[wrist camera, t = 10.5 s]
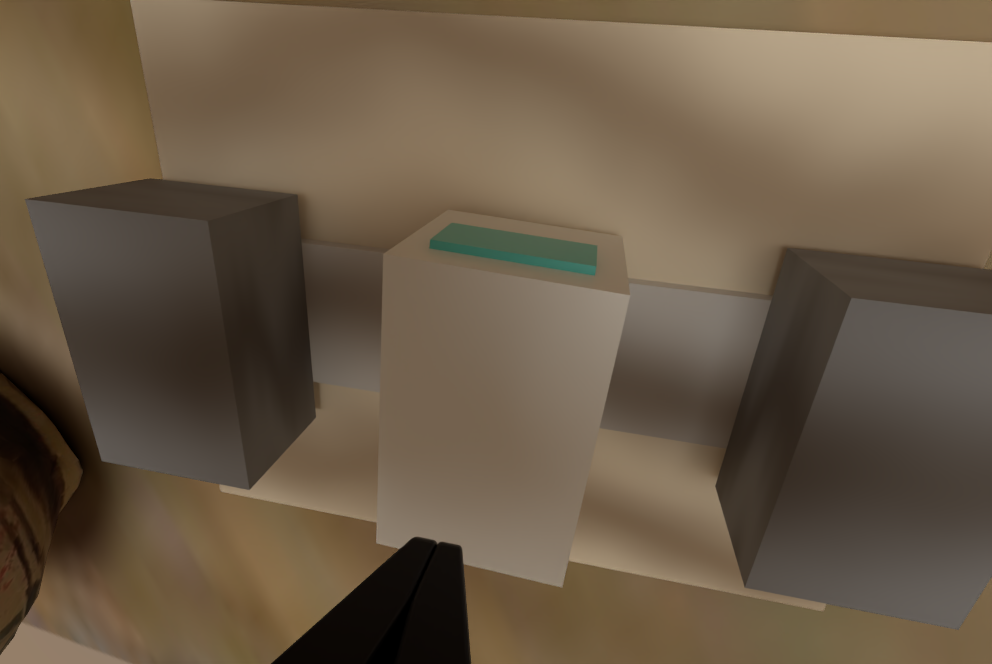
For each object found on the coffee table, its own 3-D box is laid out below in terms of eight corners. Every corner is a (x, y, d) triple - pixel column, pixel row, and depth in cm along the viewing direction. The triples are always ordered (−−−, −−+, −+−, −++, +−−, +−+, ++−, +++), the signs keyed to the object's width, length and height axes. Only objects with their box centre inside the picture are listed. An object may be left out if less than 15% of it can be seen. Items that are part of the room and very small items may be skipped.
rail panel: (813, 588, 20) (883, 749, 15) (235, 476, 23) (135, 577, 18) (1051, 51, 13) (1344, 17, 8) (156, 2, 16) (-46, -45, 11)
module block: (572, 466, 18) (562, 587, 13) (431, 436, 19) (376, 542, 14) (623, 229, 15) (632, 285, 10) (448, 202, 15) (383, 244, 11)
